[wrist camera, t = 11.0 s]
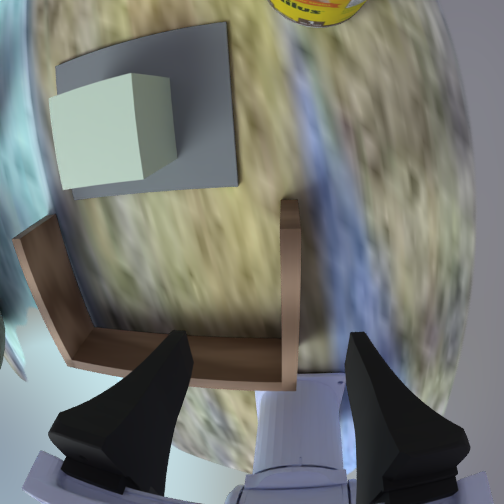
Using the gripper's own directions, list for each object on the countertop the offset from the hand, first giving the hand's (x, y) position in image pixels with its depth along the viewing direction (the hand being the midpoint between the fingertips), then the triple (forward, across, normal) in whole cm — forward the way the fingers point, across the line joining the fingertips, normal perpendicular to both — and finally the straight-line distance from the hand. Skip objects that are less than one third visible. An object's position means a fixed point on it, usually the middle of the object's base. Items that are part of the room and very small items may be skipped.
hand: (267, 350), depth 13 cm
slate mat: (+8, +8, -10) cm, 15 cm away
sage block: (+8, +8, -10) cm, 15 cm away
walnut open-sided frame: (+8, +8, +2) cm, 12 cm away
